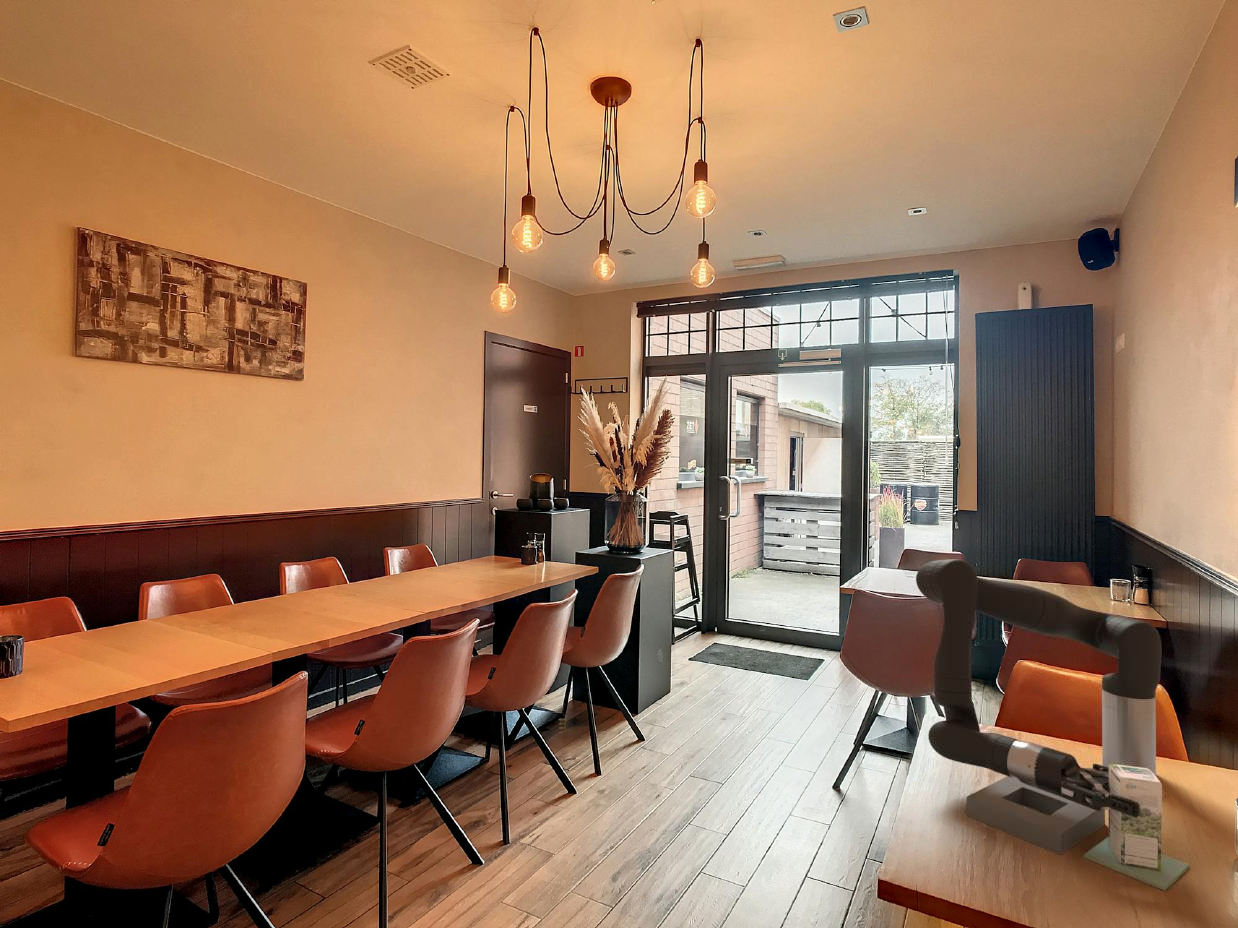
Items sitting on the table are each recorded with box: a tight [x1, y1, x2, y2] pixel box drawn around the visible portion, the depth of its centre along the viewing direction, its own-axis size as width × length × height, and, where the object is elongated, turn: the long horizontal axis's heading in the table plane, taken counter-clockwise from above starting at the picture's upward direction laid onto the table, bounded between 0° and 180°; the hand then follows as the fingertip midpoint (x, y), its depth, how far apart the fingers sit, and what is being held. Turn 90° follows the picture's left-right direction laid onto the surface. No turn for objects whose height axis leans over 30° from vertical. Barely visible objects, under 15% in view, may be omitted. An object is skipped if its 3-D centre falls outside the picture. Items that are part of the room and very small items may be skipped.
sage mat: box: [1083, 835, 1190, 891], centre depth 112 cm, size 11×11×1 cm
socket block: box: [966, 776, 1106, 856], centre depth 126 cm, size 18×16×4 cm
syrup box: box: [1108, 764, 1163, 870], centre depth 112 cm, size 6×6×14 cm
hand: (1149, 803), depth 111 cm, fingers open, 8 cm apart
